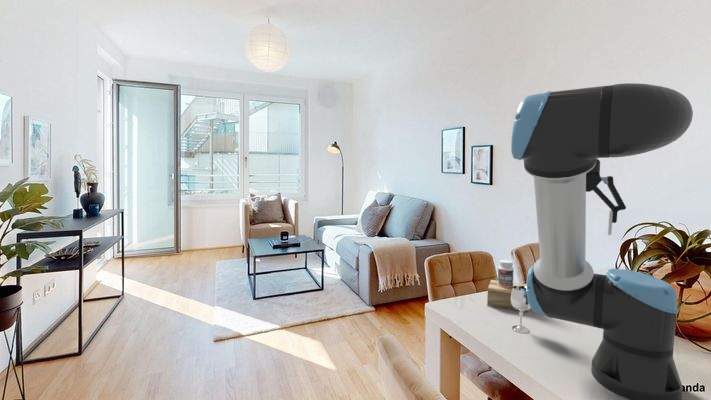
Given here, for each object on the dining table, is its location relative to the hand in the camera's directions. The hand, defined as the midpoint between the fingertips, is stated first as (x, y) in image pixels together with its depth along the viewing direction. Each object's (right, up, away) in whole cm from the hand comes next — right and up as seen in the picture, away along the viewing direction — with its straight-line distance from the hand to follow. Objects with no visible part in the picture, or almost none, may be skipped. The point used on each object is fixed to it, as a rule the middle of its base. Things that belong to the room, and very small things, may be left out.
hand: (580, 232), depth 103 cm
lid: (-14, -20, +15) cm, 29 cm away
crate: (-14, -25, +16) cm, 33 cm away
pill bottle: (-15, -20, +16) cm, 29 cm away
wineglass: (-19, -28, -3) cm, 34 cm away
